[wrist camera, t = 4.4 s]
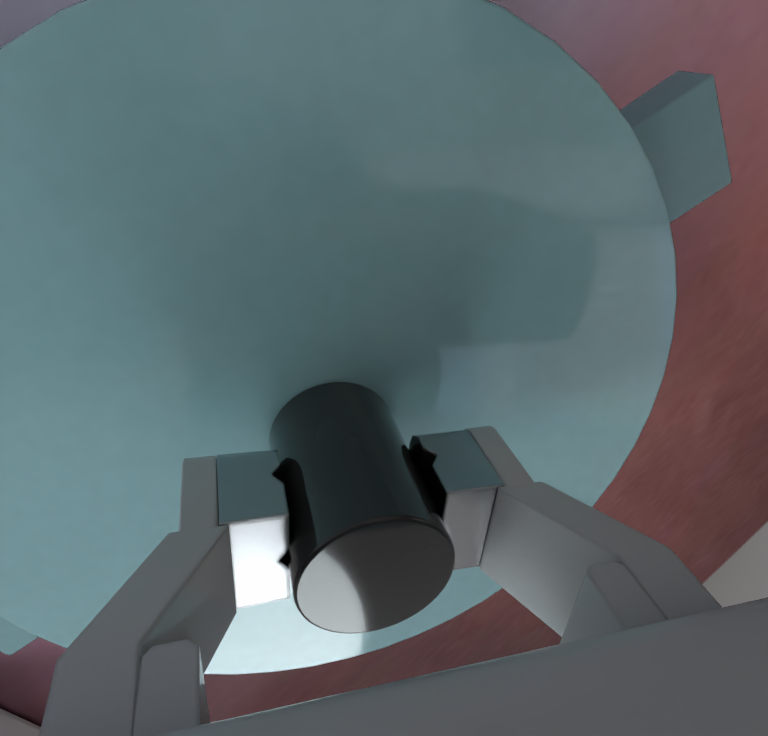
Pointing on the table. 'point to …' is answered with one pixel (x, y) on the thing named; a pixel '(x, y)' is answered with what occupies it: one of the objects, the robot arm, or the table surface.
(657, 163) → the pan
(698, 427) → the table surface
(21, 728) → the medicine bottle
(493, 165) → the pan lid
